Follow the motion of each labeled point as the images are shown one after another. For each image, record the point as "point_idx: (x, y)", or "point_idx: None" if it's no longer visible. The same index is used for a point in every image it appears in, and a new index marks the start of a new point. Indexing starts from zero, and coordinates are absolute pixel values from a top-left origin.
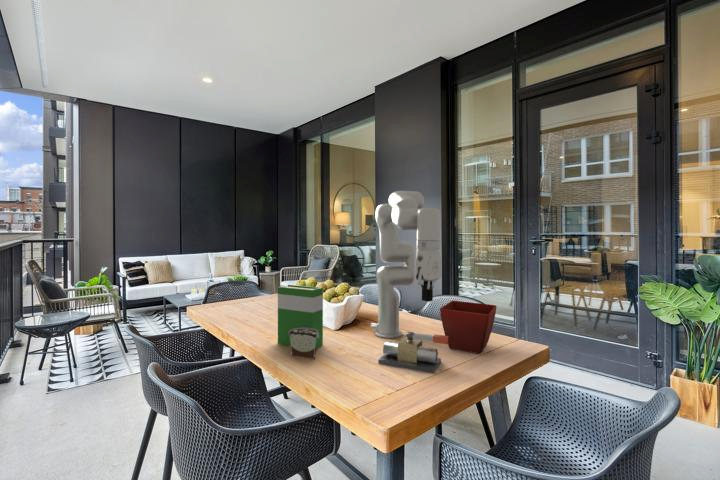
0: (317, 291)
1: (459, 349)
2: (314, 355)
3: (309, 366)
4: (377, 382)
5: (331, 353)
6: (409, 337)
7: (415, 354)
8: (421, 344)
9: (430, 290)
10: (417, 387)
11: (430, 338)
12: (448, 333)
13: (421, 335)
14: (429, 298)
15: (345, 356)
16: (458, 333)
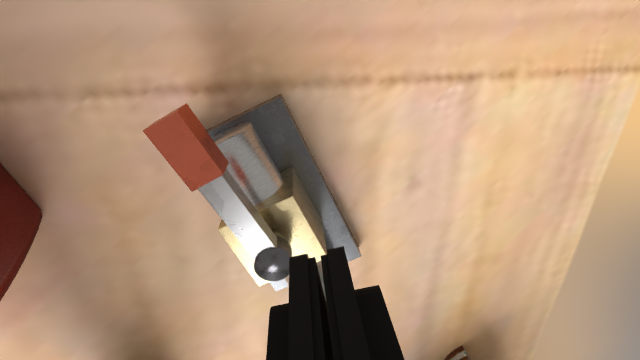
0: None
1: (15, 183)
2: (464, 354)
3: (502, 319)
4: (467, 153)
5: None
6: (288, 248)
7: (294, 182)
8: None
9: (369, 355)
10: (412, 50)
11: (230, 181)
12: (12, 246)
13: (250, 221)
14: (349, 273)
15: None
16: None
